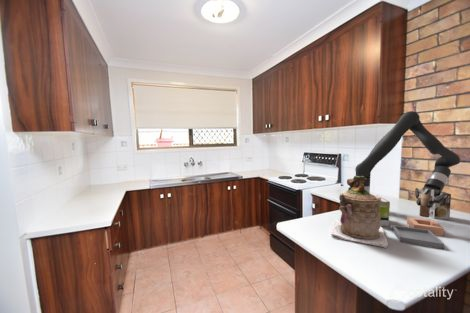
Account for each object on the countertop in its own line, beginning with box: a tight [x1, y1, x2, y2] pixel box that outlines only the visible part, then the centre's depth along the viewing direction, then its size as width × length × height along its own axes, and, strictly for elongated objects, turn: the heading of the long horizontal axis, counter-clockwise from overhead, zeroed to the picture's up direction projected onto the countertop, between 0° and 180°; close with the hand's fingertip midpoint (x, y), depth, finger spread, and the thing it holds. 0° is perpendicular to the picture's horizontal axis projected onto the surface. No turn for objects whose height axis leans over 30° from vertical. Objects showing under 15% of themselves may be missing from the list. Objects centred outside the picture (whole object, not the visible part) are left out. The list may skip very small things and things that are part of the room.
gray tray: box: [391, 224, 445, 250], centre depth 104 cm, size 16×16×2 cm
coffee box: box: [428, 191, 452, 220], centre depth 131 cm, size 9×6×16 cm
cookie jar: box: [330, 175, 389, 249], centre depth 109 cm, size 25×25×32 cm
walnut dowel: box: [418, 193, 431, 218], centre depth 113 cm, size 4×4×12 cm
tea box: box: [374, 194, 391, 227], centre depth 126 cm, size 15×10×15 cm
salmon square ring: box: [406, 216, 445, 237], centre depth 114 cm, size 12×12×4 cm
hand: (423, 205), depth 113 cm, fingers closed on walnut dowel, 4 cm apart
